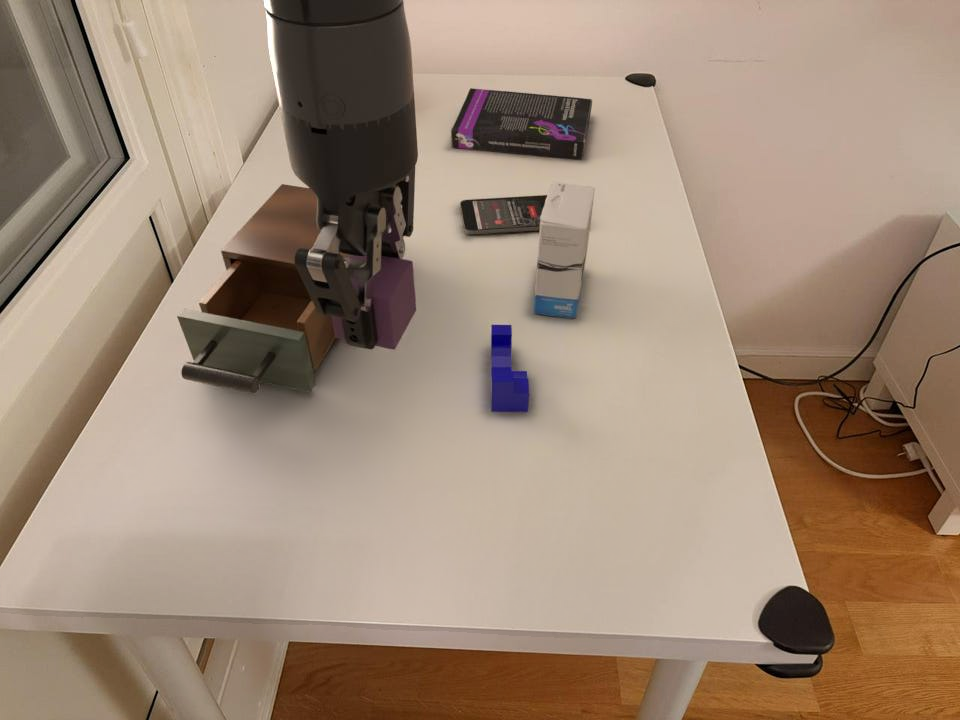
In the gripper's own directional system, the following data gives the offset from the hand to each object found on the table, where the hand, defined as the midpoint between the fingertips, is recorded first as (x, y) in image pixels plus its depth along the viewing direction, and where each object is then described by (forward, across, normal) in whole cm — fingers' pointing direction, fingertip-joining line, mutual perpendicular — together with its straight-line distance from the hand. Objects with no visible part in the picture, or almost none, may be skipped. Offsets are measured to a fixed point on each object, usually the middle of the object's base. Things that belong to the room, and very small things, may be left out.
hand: (375, 320), depth 52 cm
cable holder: (+18, -13, +7) cm, 23 cm away
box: (+18, -65, -4) cm, 68 cm away
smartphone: (+18, -42, +1) cm, 46 cm away
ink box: (+18, -28, +9) cm, 35 cm away
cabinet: (+17, -22, -17) cm, 33 cm away
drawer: (+17, -9, -17) cm, 26 cm away
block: (0, 0, 0) cm, 0 cm away
